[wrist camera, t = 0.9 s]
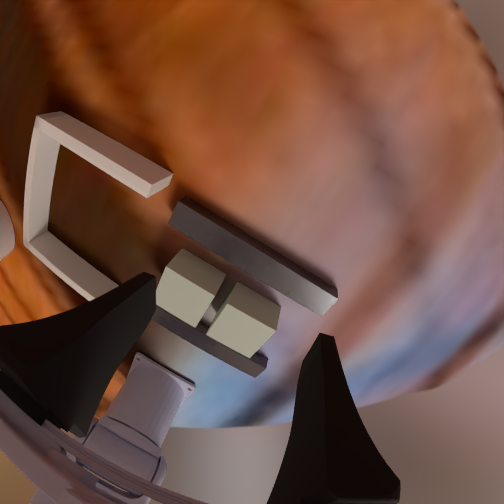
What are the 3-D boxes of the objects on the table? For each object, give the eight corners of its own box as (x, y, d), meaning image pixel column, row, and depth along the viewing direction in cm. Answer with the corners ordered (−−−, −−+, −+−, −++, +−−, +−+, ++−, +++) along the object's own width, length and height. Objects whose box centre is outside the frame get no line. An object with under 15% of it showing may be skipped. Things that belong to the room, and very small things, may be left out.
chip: (207, 305, 24) (195, 327, 22) (167, 281, 24) (151, 301, 21) (226, 273, 22) (215, 296, 20) (183, 247, 22) (166, 266, 19)
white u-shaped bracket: (127, 299, 26) (111, 317, 23) (41, 232, 25) (23, 244, 22) (173, 173, 19) (152, 184, 16) (61, 111, 18) (36, 115, 15)
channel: (257, 368, 26) (255, 377, 25) (141, 301, 26) (135, 308, 24) (337, 289, 20) (338, 299, 19) (185, 195, 20) (178, 200, 19)
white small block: (256, 333, 24) (249, 358, 22) (217, 311, 24) (205, 334, 22) (281, 305, 22) (275, 330, 20) (237, 280, 22) (227, 303, 20)
